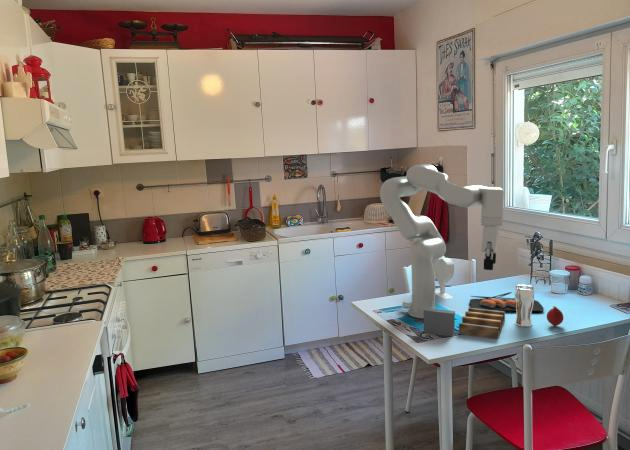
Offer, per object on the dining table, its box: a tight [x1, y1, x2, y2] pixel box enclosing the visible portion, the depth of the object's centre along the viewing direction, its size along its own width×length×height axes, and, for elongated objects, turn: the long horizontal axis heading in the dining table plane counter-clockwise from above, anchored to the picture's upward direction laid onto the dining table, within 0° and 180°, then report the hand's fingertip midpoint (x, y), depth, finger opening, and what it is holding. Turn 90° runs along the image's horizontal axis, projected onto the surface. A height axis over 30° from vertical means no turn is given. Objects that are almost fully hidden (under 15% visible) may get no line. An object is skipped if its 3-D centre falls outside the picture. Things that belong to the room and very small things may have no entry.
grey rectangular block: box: [423, 308, 456, 338], centre depth 196 cm, size 11×3×9 cm, turn 63°
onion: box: [546, 305, 564, 327], centre depth 199 cm, size 6×6×8 cm
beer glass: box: [514, 284, 535, 328], centre depth 201 cm, size 7×7×15 cm
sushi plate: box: [469, 291, 545, 312], centre depth 230 cm, size 29×30×4 cm
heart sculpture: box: [432, 255, 455, 300], centre depth 242 cm, size 16×5×18 cm, turn 13°
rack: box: [458, 307, 506, 340], centre depth 201 cm, size 14×20×4 cm
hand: (489, 266), depth 193 cm, fingers open, 9 cm apart
